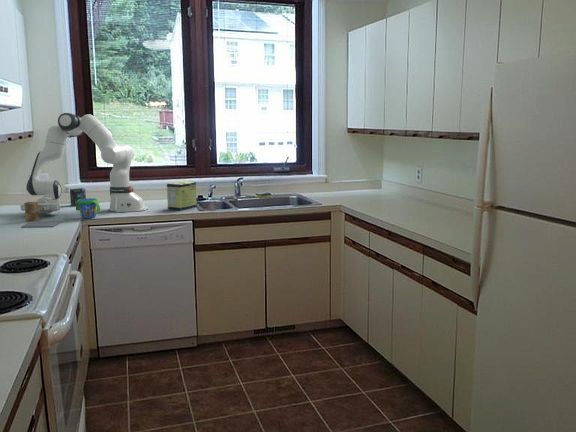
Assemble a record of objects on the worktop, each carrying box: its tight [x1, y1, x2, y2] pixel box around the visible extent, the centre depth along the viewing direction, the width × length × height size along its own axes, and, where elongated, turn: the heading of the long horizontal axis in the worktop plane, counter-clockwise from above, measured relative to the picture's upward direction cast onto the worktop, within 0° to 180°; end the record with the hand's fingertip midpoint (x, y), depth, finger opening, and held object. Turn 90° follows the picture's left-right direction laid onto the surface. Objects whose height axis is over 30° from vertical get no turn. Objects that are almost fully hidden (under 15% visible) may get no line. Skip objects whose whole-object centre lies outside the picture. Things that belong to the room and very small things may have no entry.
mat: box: [21, 220, 63, 229], centre depth 295 cm, size 16×14×1 cm
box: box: [69, 187, 87, 208], centre depth 354 cm, size 8×6×11 cm
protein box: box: [166, 180, 198, 211], centre depth 343 cm, size 10×16×16 cm
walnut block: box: [23, 201, 40, 223], centre depth 305 cm, size 5×5×10 cm
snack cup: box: [75, 197, 101, 219], centre depth 313 cm, size 16×10×10 cm
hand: (34, 209), depth 310 cm, fingers open, 8 cm apart
